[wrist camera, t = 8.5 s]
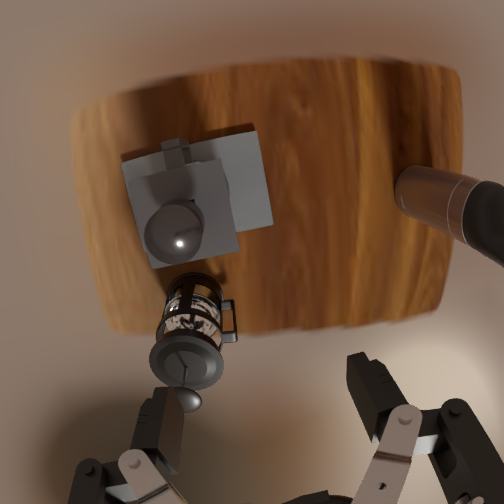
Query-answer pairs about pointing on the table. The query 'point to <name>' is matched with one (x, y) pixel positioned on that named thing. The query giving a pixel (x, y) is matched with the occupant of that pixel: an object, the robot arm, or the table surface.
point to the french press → (191, 339)
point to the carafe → (188, 198)
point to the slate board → (235, 170)
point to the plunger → (175, 231)
